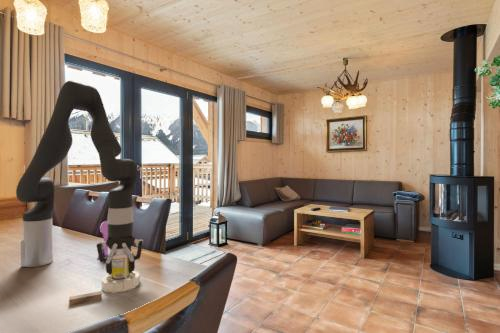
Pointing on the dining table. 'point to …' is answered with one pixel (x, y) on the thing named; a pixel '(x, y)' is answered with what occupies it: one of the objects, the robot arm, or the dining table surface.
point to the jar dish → (120, 283)
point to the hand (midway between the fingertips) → (120, 272)
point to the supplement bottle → (120, 265)
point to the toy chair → (104, 235)
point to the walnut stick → (85, 298)
